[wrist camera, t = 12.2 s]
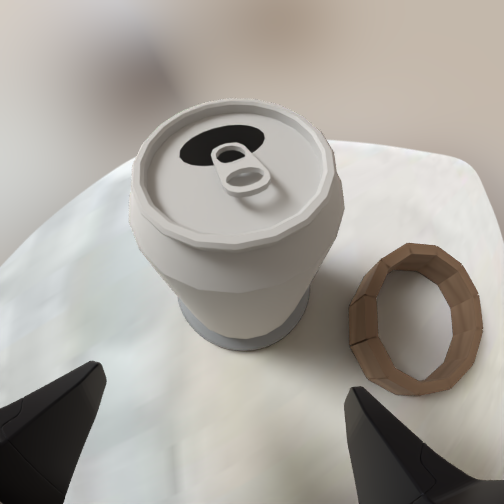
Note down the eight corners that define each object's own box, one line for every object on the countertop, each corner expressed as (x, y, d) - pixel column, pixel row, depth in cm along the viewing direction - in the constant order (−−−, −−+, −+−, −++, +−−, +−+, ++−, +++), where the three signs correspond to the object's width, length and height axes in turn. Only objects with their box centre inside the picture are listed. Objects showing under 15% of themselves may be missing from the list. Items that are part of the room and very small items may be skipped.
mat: (332, 312, 18) (334, 310, 18) (210, 372, 16) (208, 372, 16) (270, 210, 22) (271, 206, 21) (161, 256, 20) (159, 254, 19)
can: (271, 221, 21) (287, 73, 10) (317, 314, 18) (408, 211, 7) (174, 256, 19) (105, 122, 9) (208, 357, 16) (129, 317, 6)
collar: (474, 341, 17) (497, 333, 14) (388, 420, 15) (410, 425, 12) (418, 241, 20) (436, 224, 18) (322, 299, 19) (334, 285, 16)
